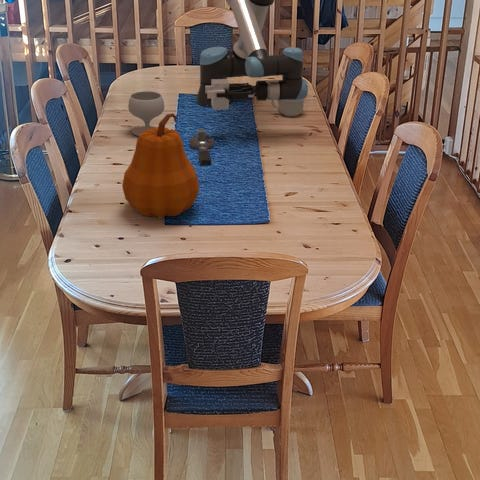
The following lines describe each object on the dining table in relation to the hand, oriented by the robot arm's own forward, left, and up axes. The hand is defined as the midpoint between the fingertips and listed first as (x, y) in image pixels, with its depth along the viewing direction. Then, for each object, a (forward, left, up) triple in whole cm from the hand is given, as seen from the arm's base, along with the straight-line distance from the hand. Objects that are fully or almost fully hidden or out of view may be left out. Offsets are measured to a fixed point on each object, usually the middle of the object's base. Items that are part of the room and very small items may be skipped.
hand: (206, 92), depth 285 cm
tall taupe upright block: (+3, +4, -6) cm, 8 cm away
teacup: (-1, +45, -19) cm, 49 cm away
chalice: (-20, -14, -19) cm, 31 cm away
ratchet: (+11, -11, -18) cm, 24 cm away
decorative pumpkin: (+40, -52, -19) cm, 68 cm away
